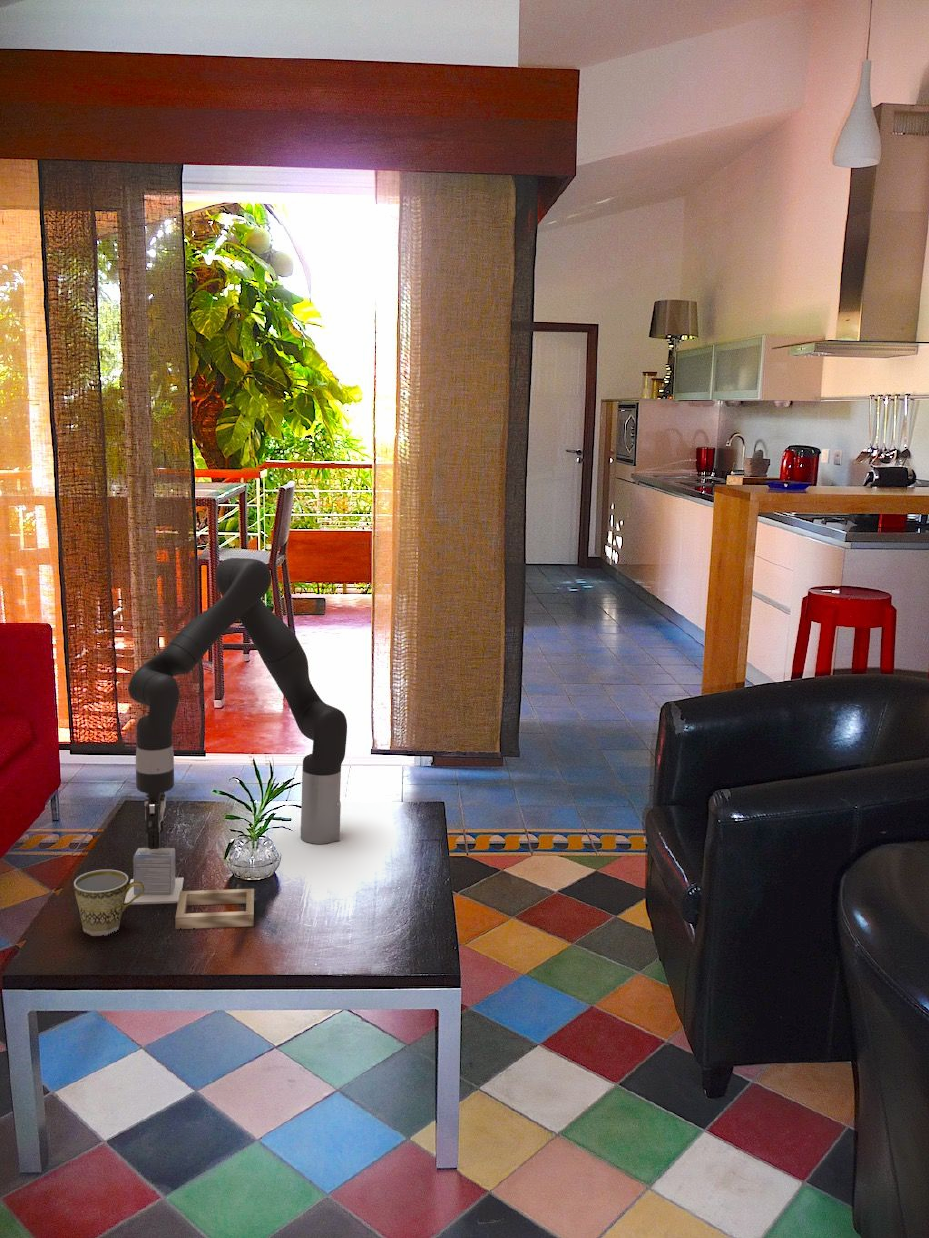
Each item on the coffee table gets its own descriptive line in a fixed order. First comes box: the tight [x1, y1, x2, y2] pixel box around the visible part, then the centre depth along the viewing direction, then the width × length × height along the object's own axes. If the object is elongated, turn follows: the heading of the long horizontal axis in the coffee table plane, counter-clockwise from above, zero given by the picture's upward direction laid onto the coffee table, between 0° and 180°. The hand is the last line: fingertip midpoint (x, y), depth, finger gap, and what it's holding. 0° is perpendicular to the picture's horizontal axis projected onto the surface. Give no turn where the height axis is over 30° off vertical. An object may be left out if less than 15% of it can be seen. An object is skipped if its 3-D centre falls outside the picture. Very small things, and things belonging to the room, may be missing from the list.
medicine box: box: [133, 847, 176, 894], centre depth 213 cm, size 8×4×9 cm, turn 96°
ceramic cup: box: [73, 869, 144, 937], centre depth 197 cm, size 13×10×10 cm
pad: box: [124, 876, 185, 906], centre depth 214 cm, size 11×11×1 cm
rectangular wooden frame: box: [174, 888, 255, 930], centre depth 206 cm, size 15×12×2 cm
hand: (156, 839), depth 212 cm, fingers open, 8 cm apart
